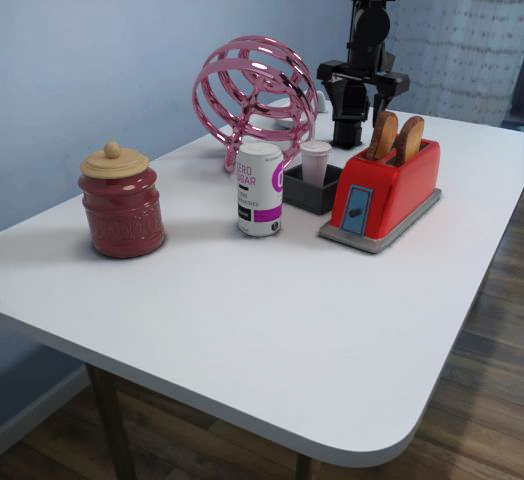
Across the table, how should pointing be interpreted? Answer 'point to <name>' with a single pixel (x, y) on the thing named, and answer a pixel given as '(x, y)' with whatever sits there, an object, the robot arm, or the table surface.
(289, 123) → the spoon rest
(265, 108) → the spiral basket
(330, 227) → the toaster
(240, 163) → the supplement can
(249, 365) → the table surface
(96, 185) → the kitchen canister
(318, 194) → the bin
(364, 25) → the robot arm
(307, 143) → the smoothie
